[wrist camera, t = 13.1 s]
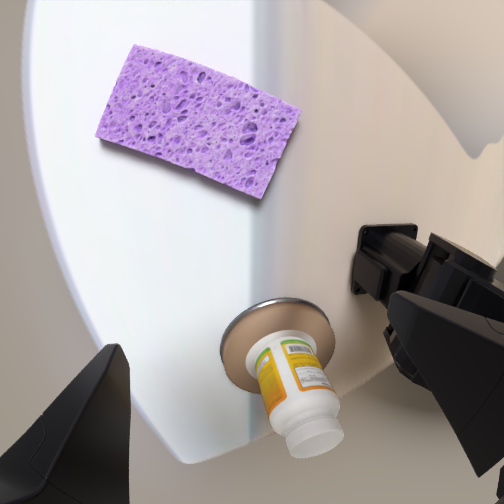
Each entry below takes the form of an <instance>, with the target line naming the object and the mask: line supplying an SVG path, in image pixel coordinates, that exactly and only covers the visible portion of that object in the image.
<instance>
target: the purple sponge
mask: <svg viewBox="0 0 504 504" xmlns="http://www.w3.org/2000/svg"><path fill="white" fill-rule="evenodd" d="M301 112H302V110H301V109H299V108H297V107H295V106H293V105H290V104H288V103H286V102H284V101H282V100H281V99H279V98H277V97H275V96H273V95H270V94H267V93H266V92H264V91H260V90H258V89H256V88H253V87H252V86H250V85H249V84H247V83H245V82H242V81H240V80H238V79H236V78H234V77H232V76H227V75H225V74H223V73H221V72H219V71H215V70H213V69H211V68H209V67H206V66H204V65H201V64H198V63H195V62H192V61H189V60H185V59H184V58H181V57H178V56H175V55H172V54H168V53H165V52H162V51H159V50H155V49H151V48H147V47H145V46H140V45H136V44H134V45H133V47H132V49H131V51H130V53H129V54H128V57H127V59H126V61H125V63H124V65H123V68H122V70H121V72H120V75H119V77H118V78H117V81H116V85H115V87H114V89H113V91H112V94H111V96H110V99H109V101H108V102H107V106H106V108H105V111H104V113H103V115H102V118H101V120H100V123H99V125H98V128H97V131H96V134H95V137H98V138H101V139H103V140H107V141H110V142H113V143H116V144H119V145H122V146H125V147H128V148H131V149H134V150H138V151H141V152H143V153H146V154H149V155H152V156H155V157H158V158H161V159H163V160H165V161H168V162H171V163H173V164H176V165H179V166H182V167H184V168H188V169H190V170H193V171H195V172H197V173H199V174H202V175H204V176H206V177H208V178H211V179H213V180H215V181H218V182H220V183H222V184H225V185H227V186H229V187H232V188H234V189H236V190H239V191H241V192H244V193H246V194H249V195H251V196H253V197H255V198H258V199H262V196H263V194H264V192H265V190H266V188H267V186H268V183H269V182H270V180H271V177H272V175H273V173H274V171H275V167H276V163H277V161H278V159H280V158H281V155H282V152H283V150H284V148H285V147H286V142H287V140H288V139H289V136H290V134H291V132H292V130H293V129H294V127H295V125H296V123H297V120H298V117H299V116H300V114H301Z"/></svg>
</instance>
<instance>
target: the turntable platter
mask: <svg viewBox="0 0 504 504" xmlns="http://www.w3.org/2000/svg"><path fill="white" fill-rule="evenodd" d="M288 336H292V337H299V338H301V339H304V340H305V341H307V342H308V343H309V344H310V346H311V348H312V349H313V351H314V353H315V355H316V357H317V359H318V361H319V363H320V365H321V366H322V368H323V369H324V368H325V367H326V365H327V364H328V363H329V361H330V359H331V357H332V355H333V352H334V349H335V336H334V332H333V330H332V328H331V326H330V325H329V323H328V322H327V320H326V319H325V317H324V316H323V315H322V314H321V313H320V312H319V311H318V310H317V309H315V308H314V307H312V306H310V305H307V304H304V303H299V302H290V301H287V302H277V303H272V304H268V305H265V306H262V307H259V308H257V309H255V310H253V311H251V312H249V313H248V314H246V315H245V316H243V317H242V318H241V319H240V320H238V321H237V322H236V323H235V324H234V326H233V327H232V328H231V329H230V331H229V332H228V334H227V336H226V338H225V340H224V343H223V361H224V367H225V371H226V374H227V376H228V377H229V379H230V380H231V381H232V382H233V383H234V384H235V385H236V386H238V387H239V388H241V389H243V390H246V391H248V392H252V393H257V394H262V393H261V389H260V385H259V382H258V378H257V374H256V370H255V358H256V356H257V354H258V352H259V351H260V350H261V349H262V348H263V347H264V346H265V345H266V344H268V343H270V342H271V341H273V340H275V339H278V338H281V337H288Z"/></svg>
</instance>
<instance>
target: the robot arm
mask: <svg viewBox="0 0 504 504" xmlns="http://www.w3.org/2000/svg"><path fill="white" fill-rule="evenodd" d="M412 229H413V230H412ZM365 230H367V232H366V233H365ZM417 231H418V227H417V225H415V224H413V223H410V224H380V225H364V226H362V227H361V229H360V234H359V242H358V249H357V252H356V257H355V264H354V271H353V283H352V288H351V290H352V292H353V293H354V294H355V295H359V294H365V293H369V294H370V295H371V296H372V297H373V298H374V299H375V300H376V301H380V302H381V303H382V304H383V305H384V306H385V307H386V308H387V309H388V311H387V316H388V319H389V321H390V324H389V326H388V327H386V329H385V331H384V332H383V334H384V337H385V339H386V342H387V344H388V346H389V349H390V351H391V354H392V357H393V359H394V362H395V364H396V366H397V368H398V369H399V372H400V373H401V374H403V375H404V376H405V377H407V378H408V379H409V380H411V381H412V382H413V383H415V384H418V385H420V386H422V387H424V388H426V389H428V390H429V391H431V392H432V394H433V395H434V397H435V399H436V400H437V402H438V404H439V405H440V407H441V409H442V410H443V412H444V414H445V416H446V418H447V419H448V421H449V423H450V425H451V426H452V428H453V430H454V432H455V434H456V435H457V438H458V440H459V441H460V443H461V445H462V447H463V449H464V451H465V453H466V455H467V457H468V459H469V461H470V463H471V465H472V467H473V469H474V471H475V473H476V475H477V476H478V477H481V476H482V475H483V474H484V473H486V472H487V471H488V470H489V469H490V468H492V467H493V466H494V465H495V464H496V463H498V462H499V461H500V460H501V459H502V458H503V457H504V285H503V284H502V283H500V282H498V281H497V280H495V279H494V278H495V276H496V274H497V272H498V270H497V269H496V268H494V267H493V266H492V265H490V264H489V263H488V262H486V261H485V260H484V259H482V258H481V257H479V256H477V255H476V254H474V253H472V252H470V251H469V250H467V249H465V248H463V247H461V246H459V245H457V244H455V243H453V242H451V241H449V240H447V239H444V238H442V237H440V236H438V235H436V234H434V233H431V234H430V237H429V243H428V245H427V247H426V246H425V245H423V244H421V243H420V242H418V241H416V237H417ZM357 288H358V289H357ZM356 289H357V290H356ZM130 419H131V400H130V368H129V363H128V361H127V359H126V356H125V354H124V352H123V350H122V348H121V346H120V345H119V344H117V343H116V344H107V345H106V346H105V347H104V348H103V349H102V350H101V351H100V352H99V353H98V354H97V355H96V356H95V357H94V358H93V359H92V360H91V361H90V362H89V363H88V365H87V366H85V368H84V369H83V370H82V371H81V372H80V373H79V374H78V375H77V376H76V377H75V378H74V379H73V380H72V381H71V383H70V384H69V385H68V386H67V387H66V388H65V389H64V390H63V391H62V392H61V393H60V395H59V396H58V397H57V398H56V399H55V400H54V401H53V402H52V403H51V404H50V406H49V407H48V408H47V409H46V410H45V411H44V412H43V415H40V417H39V418H38V419H37V420H36V421H35V422H34V424H33V425H32V426H31V427H30V428H29V429H28V430H27V431H26V432H25V433H24V434H23V435H22V436H21V437H20V438H19V439H18V440H17V441H16V442H15V443H14V444H13V445H12V446H11V447H10V448H9V449H8V450H7V451H6V452H5V453H4V454H3V455H2V456H1V457H0V504H129V503H130V502H129V439H130ZM496 495H497V497H498V498H499V500H498V501H497V502H496V503H495V504H504V465H503V466H502V468H501V469H500V475H499V482H498V488H497V494H496Z"/></svg>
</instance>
